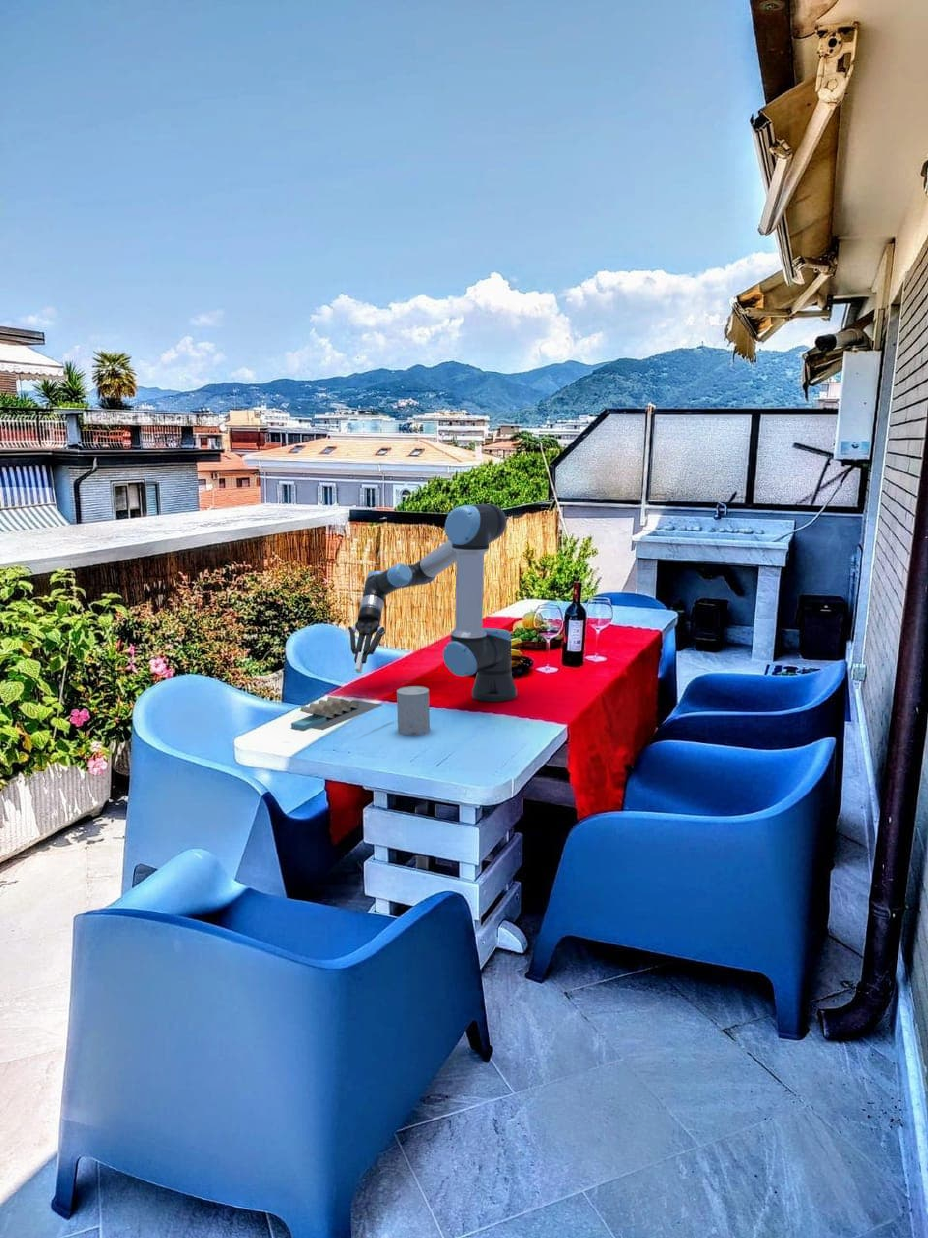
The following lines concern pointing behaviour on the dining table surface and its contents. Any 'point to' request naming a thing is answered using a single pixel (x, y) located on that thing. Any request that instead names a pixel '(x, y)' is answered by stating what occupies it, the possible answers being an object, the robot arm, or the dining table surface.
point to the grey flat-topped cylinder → (413, 710)
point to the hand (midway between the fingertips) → (358, 671)
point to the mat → (347, 714)
